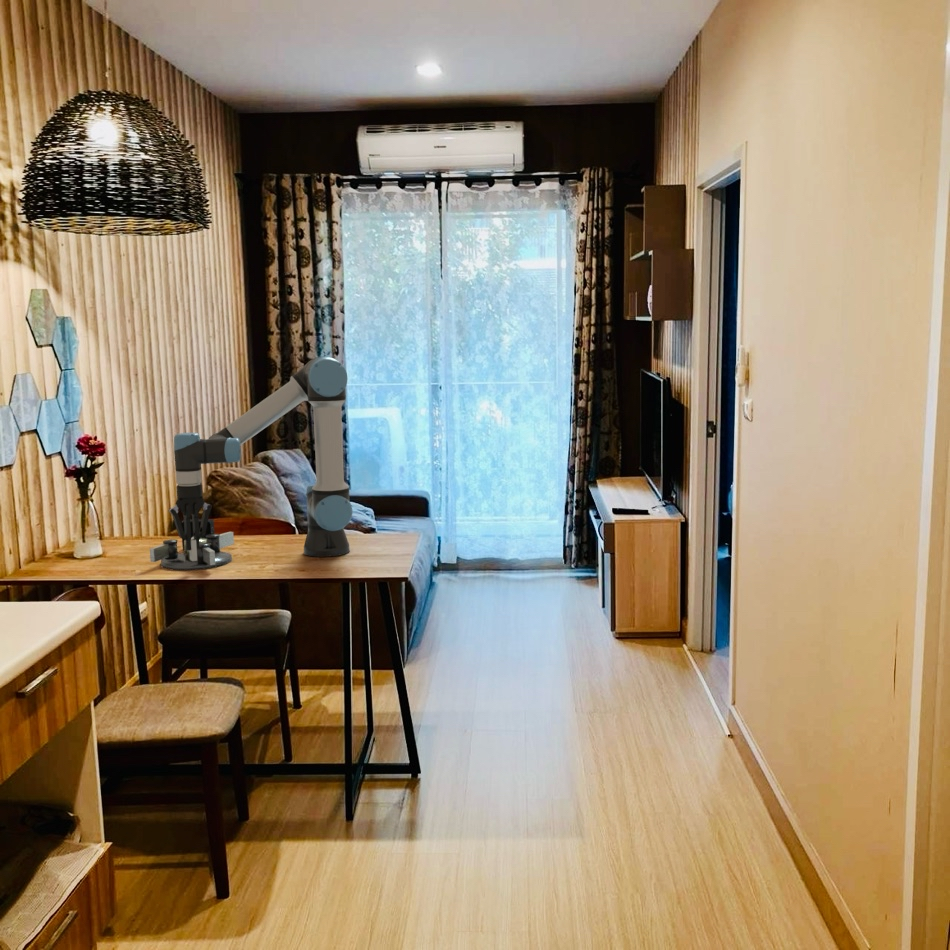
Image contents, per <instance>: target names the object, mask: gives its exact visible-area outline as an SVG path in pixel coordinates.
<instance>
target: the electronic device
mask: <svg viewBox="0 0 950 950" xmlns="http://www.w3.org/2000/svg"><path fill="white" fill-rule="evenodd" d="M201 520H202V518H201V519H200V518H199V531H200V525H201ZM181 525H182V528H183V531H184V535H185V530H184V520H182V521H181ZM190 526H191V538H192V537H193V522H192V518H190ZM209 534H215V521H214V519H211V518H208V522H207V528H206V533H205V536H202V537H201V538H206V535H209ZM206 539H207V538H206ZM184 540H185V539H182V538H181V542H182V543H181V545H182V550H183V551H185V548H184Z"/></svg>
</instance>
